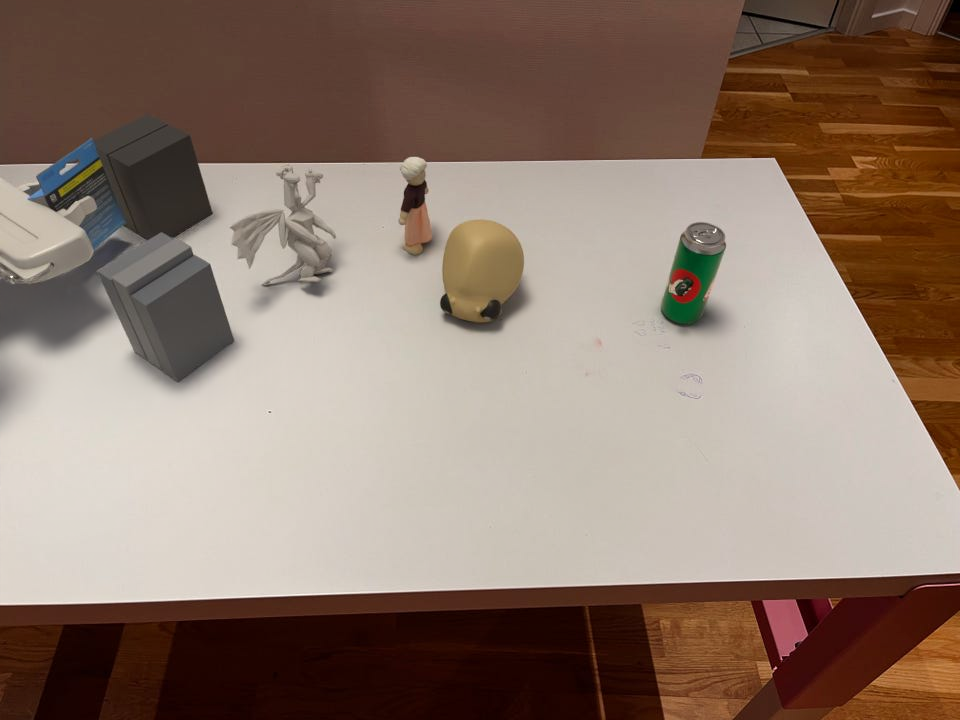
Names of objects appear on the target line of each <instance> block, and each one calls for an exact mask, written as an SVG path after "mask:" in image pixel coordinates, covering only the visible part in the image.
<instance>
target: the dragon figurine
mask: <svg viewBox="0 0 960 720" xmlns="http://www.w3.org/2000/svg"><path fill="white" fill-rule="evenodd" d="M275 175H276V176H277V177H279V178H280V180H283V204H284V207H286V208H287V209H288V210H290V211H291V213H290V214H289V215H288V216H287V218H286V215H285V210H284V209H269V210H263V211H259V212H255V213H252V214H249V215H247V216H245V217H244V216H243V217H242V218H240V219H238V220H236V221H235V222H234V223H233V224H231V225H230V226H229V227H228V229H231V230H232V231H233V235H232V239H231V243H230V246H234V247H237V258H236V260H237V261H238V260H242V259H246V263H247V267H248V270H250V269H251V267H252V266H253V264H254V261H255V259H256V258H255V257H256V254H257V252H258V250H259V249H260V248H261V246H262V244H263V242H264V240H265V237H266V236H267V235H268V233H269V232H271V230H272V229H274V228H275V226H276V225H277V224H278V235H279V243H280V246H281V248H282V249H283V250H284V249H285V248H286V246H288V247H289V248H290V249H291V250H292V251H294V252H295V253H296V254H297V256H296V262H295V263H294V264H293V265H292V266H290V267H289V268H288V269H287V270H285V271H284V272H283V273H282V274H280V275H277V276H273V277H271V278H268V279H267V280H266V281H264V282H263V283H262V284H261V286H264V285H268V284H271V281H274V280H275V281H276V280H279V279H281V278H284V277H286V276H288V275H290V274H291V273H293V272H295V271H297V270H298V269H300V268H301V271H300V278H298V279H297V280H296V281H298V282H303V283H314V282H315V283H319V282H321V281H322V279H321V278H320V277H318V276H315V275H319V274H320V275H321V274H325V273H328V272H334V269H333V268H332V267H326V266H325V265H326V263H327V260H328V259H329V258H332V257H333V249H332V246H330V245H329V243H328V242H327V241H326V240H324V239H323V238H321V237H319V236H318V235H316V234H315V231H314V228H313V227H315V228H318V229H320V230H322V231H324V232H325V233H327V234H330V235H331V237H332V238H333V240H336V238H337V235H336V233H335V231H334V230H333V229H332V227H330V226H329V225H328V224H327V223H326V221H324V220H323V219H322V218H320V217H319V216H318V215H317V214H314V212H313V210H311V209H309V208H307V207H306V206H307V205H308V204H309V203H310V202H311V201H312V200H314V199H315V198H316V197H317V194H316V193H317V191H316V190H317V189H316V184H321V180H322V179H323V178H324V174H323V173H320V172H317V171H314V170H313V169H312V168H308V169H307V170H306V171H305V172H304V176H305V186H306V190H307V192H308V195H307V196H306V197H305V199H303V200H302V196H301V195H300V191H299V187H298V186H299V185H298V183H300V181H301V177H300V175H298V174H296V173H295V172H294V167H293V166H292V165H290V164H289V163H285V164H284V165H282V166H280V167H279V168H276V170H275Z"/></svg>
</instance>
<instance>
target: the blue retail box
mask: <svg viewBox="0 0 960 720" xmlns="http://www.w3.org/2000/svg"><path fill="white" fill-rule="evenodd" d="M93 140H94V139H93V137H90V138H89V139H88V140H87V141H85V142H83V143H82V144H80V145H79V146H78V147H76V148H75V149H73V150H72V151H70V152H69V153H67V154H65V155H64V156H63V157H62V158H60V159H58V160H57V161H56V162H54V163H52V164H51V165H49V166H48V167H47V168H45V169H44V170H42V171H41V172H39V173H38V174H37V175H36V176H35V178H36V180H37V182H39V185H40V187H41V189H40V190H38V191H37V192H36V193H34V194H33V195H31V196H30V197H29V198H28V199H27V200H29V201H32V202H35V203H38V204H41V205H44V206H46V207H48V208H50V209H52V210H53V211H55V212H57V211H59V210H61V209H65V210H68V209H69V208H70V207H71V205H72V204H73V200H72V198H74V197H76V196H80V194H82V193H85V194H87V195H89V196H90V197H92V198H93V199H94V200H95V203H96V205H97V209H96V210H95V211H93V212H91V213H89V214H88V215H86V216H85V218H84V219H83V221H82V222H81V224H80V225H79V227H81V228H82V229H83V230H84V231H85V232H86V234H87V236H88V238H89V240H90V242H91V245H92V247H93V249H94V250H95V249H96V248H97V247H99V246H100V245H101V244H102V243H103V242H105V241H106V240H107V239H108V238H109V237H111V236H112V235H113V234H114V233H115V232H117V231H118V230H119V229H120V228H122V227H123V226H124V224H125V223H126V221H125V219H124V216H123V214H122V211H121V209H120V206H119V204H118V202H117V199H116V196H115V194H114V192H113V189H112V187H111V185H110V182H109V180H108V177H107V175H106V172H105V170H104V168H103V165H102V163H101V160H100V158H99V156H98V154H97V151H96V147H95V145H94V141H93ZM75 161H77V162H76V163H75V164H73V165H72V166H70V167H69V168H68V169H66V170H65V171H64V172H62V173H61V174H60V172H61V171H62V170H63V169H65V168H66V167H67V164H68V163H69V164H72V163H73V162H75Z"/></svg>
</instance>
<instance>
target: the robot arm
mask: <svg viewBox="0 0 960 720" xmlns="http://www.w3.org/2000/svg"><path fill="white" fill-rule="evenodd" d="M40 189H41V187H40V185H39V182H38V181H34V182H26V183H22V184H20V185H18V186H15V185H14V184H12V183H11V182H9V181H8V180H5V178H3V177H1V176H0V280H2V279H3V280H4V281H5V282H6V283H8V284H11V285H16V284H26V285H31V284H34V283H35V284H36V283H42V282H45V281H49V280H51V279H53V278H56V277H58V276H61V275H63V274H66V273H67V272H69V271H72V270H74V269H76V268H77V267H80V266H82V265H84V264H85V263H87V262H89V261H90V260H91V259H92V257H93V255H94V253H95V249H93V247H92V245H91V242H90V240H89V238H88V236H87V234H86V232H85V231H84V230H83V229H82V228H81V227H79V225H80V224H81V222H82V221H83V219H84V218H85V216H86V215H88V214H89V213H91V212H93V211H95V210H96V209H97V205H96V203H95V200H94V199H93V198H92V197H90V196H89V195H87V194H85V193H82V194H80V196H76V197H74V198H72V200H73V204H72V205H71V207H70V208H69V209H68V210H65V209H61V210H59V211H57V212H55V211H53V210H52V209H50V208H48V207H46V206H44V205H41V204H38V203H35V202H32V201H29V200H27V199H28V198H29V197H30V196H31V195H33V194H34V193H36V192H37V191H38V190H40Z"/></svg>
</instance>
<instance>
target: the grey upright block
mask: <svg viewBox="0 0 960 720" xmlns="http://www.w3.org/2000/svg"><path fill="white" fill-rule="evenodd" d="M96 273H97V275H98V276H99V279H100V281H101V283H102V286H103V288H104V290H105V292H106V294H107V296H108V299H109V300H110V302H111V305H112V307H113V309H114V311H115V313H116V315H117V318H118V320H119V323H120V324H121V326H122V329H123V330H124V332H125V335H126V337H127V339H128V342H129V344H130V346H131V348H132V350H133V352H134V353H136V355H139V356H140V357H142V358H143V359H144V360H146V361H147V362H149V363H150V364H152V365H153V366H154V367H156V368H157V369H159V370H160V371H161V372H163V373H164V374H166V375H167V376H169V377H170V378H172V380H174V381H176V382H177V383H179V382H181V380H183V379H185V377H187V376H189V375H190V374H191V373H192V372H194V371H195V370H197V369H198V368H200V367H201V366H202V365H203V364H205V363H206V362H207V361H208V360H210V359H211V358H213V357H214V356H216V355H217V354H218V353H220V352H221V351H222V350H224V349H225V348H226V347H227V346H229V345H230V344H232V343H233V342H234V341H235V338H234V335H233V332H232V329H231V326H230V323H229V319H228V316H227V313H226V310H225V306H224V304H223V300H222V298H221V294H220V291H219V288H218V284H217V281H216V278H215V275H214V271H213V269H212V266H211V263H209V262H208V261H206V260H205V259H203V258H201V257H200V256H198V255H196V254H194V252H193V249H192V246H191V245H189V244H187V243H186V242H184V241H182V240H180V239H179V238H178V237H174V238H171V237H169V236H167V235H166V234H164V233H162V232H161V233H159V234H158V235H156V236H154V237H153V238H151V239H149V240H146V241H144V242H143V243H141V244H139V245H138V246H136V247H134V248H132V249H130V250H128V251H127V252H126V253H124V254H122V255H120V256H119V257H117V258H116V259H113V260H112V261H110V262H109V263H107V264H105V265H104V266H102V267H100V268H98V269H97V270H96Z"/></svg>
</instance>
